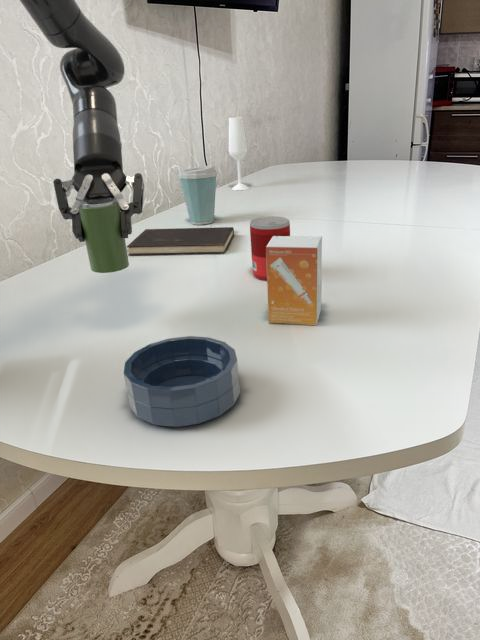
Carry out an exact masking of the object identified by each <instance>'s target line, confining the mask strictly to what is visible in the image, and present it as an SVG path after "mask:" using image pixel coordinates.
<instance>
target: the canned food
mask: <svg viewBox="0 0 480 640" xmlns="http://www.w3.org/2000/svg"><path fill="white" fill-rule="evenodd" d="M249 236H250V237H249V239H250V250H251V251H250V252H251V266H252V267H251V269H252V274H253V276H254V277H255V278H256V279H257V280H261V281H266V282H267V260H266V246H267V245H268V243H269V242H270V240H271V238H272V237H273V236H291V223H290V219H289V218H286V217H284V216H260V217H255V218H253V219H251V220H250V221H249Z"/></svg>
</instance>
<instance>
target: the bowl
mask: <svg viewBox="0 0 480 640" xmlns="http://www.w3.org/2000/svg"><path fill="white" fill-rule="evenodd" d="M123 377H124V382H125V387H126V393H127V397H128V402H129V408H130V409H131V410H132V412H133V413H134V414H135V416H136V417H137V418H138V419H140V420H143V421H144V422H147V423H148V424H149V423H150V424H152V425H154V426H165V427H174V428H179V427H184V426H193V425H199V424H202V423H204V422H207V421H210V420H213V419H215V418H218V417H220V416H221V415H223V414H224V413H225V412H228V410H229V409H231V408H232V407H233V406H234V405H235V404H236V402H237V400H238V398H239V396H240V394H241V389H240V380H239V379H240V378H239V363H238V357H237V353H236V350H235V348H234V347H232V346H231V345H229V344H228V343H227V342H226V341H223V340H220V339H216V338H212V337H209V336H194V335H187V336H179V337H170V338H165V339H162V340H159V341H155V342H152V343H149V344H147V345H146V346H144V347H141V348H139V349H138V350H136V351H134V352H133V353H132V354H131V355H130V357H129V358H128V359H127V360H125V362H124V367H123Z"/></svg>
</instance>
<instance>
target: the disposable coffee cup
mask: <svg viewBox="0 0 480 640" xmlns="http://www.w3.org/2000/svg"><path fill="white" fill-rule="evenodd" d="M217 175H218V172H217V170H216V169H215V166H214V165H203V166H202V165H201V166H195V167H190V168H185V169H182V170H179V172H178V178H179V182H180V185H181V190H182V194H183V199H184V203H185V206H186V211H187V214H188V219H189V221H190V224H191V225H197V226H202V225H208V224H212V223H213V222H214V219H215V211H216V210H215V208H216V190H217Z"/></svg>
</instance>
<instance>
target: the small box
mask: <svg viewBox="0 0 480 640" xmlns="http://www.w3.org/2000/svg"><path fill="white" fill-rule="evenodd" d="M322 255H323V236H322V235H321V236H320V235H319V236H315V235H314V236H309V235H308V236H304V235H290V236H273V237H272V238H271V240H270V242H269V243H268V245H267V246H266V260H267V281H266V286H267V311H268V323H269V324H286V325H287V324H289V325H291V324H292V325H306V326H318V323H319V319H320V315H321V312H322V269H323V268H322V266H323V264H322V263H323V262H322V261H323V260H322V259H323V257H322Z"/></svg>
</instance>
